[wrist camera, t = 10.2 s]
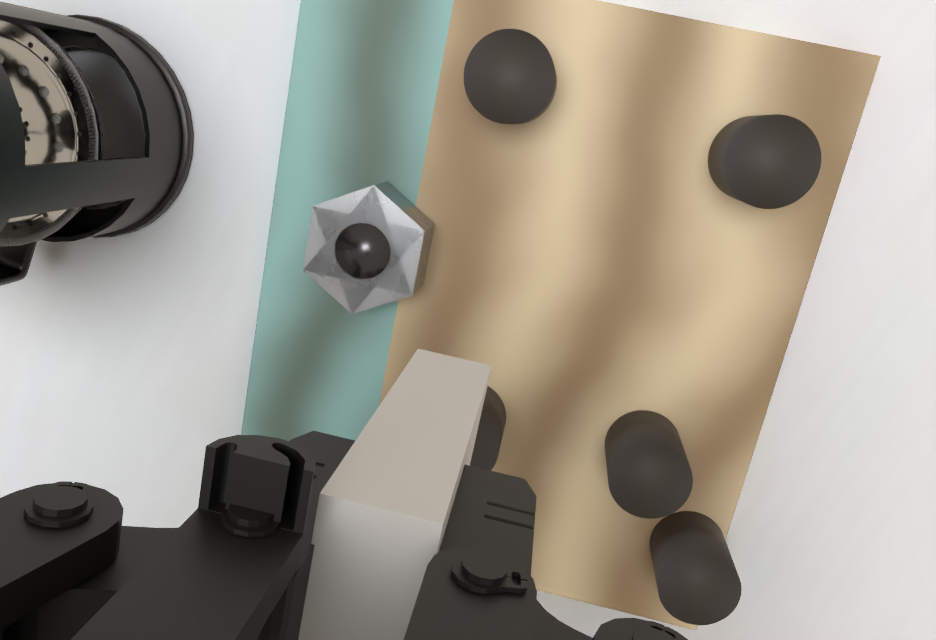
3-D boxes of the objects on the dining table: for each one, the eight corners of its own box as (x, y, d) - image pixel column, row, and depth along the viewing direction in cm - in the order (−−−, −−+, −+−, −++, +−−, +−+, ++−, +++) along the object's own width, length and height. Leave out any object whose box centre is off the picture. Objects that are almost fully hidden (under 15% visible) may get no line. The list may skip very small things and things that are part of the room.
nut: (339, 309, 34) (321, 323, 32) (302, 210, 33) (281, 216, 31) (452, 274, 33) (443, 286, 31) (417, 170, 32) (404, 174, 30)
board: (239, 502, 38) (196, 550, 34) (316, -51, 32) (276, -79, 27) (695, 617, 37) (711, 683, 32) (873, 59, 30) (923, 47, 26)
